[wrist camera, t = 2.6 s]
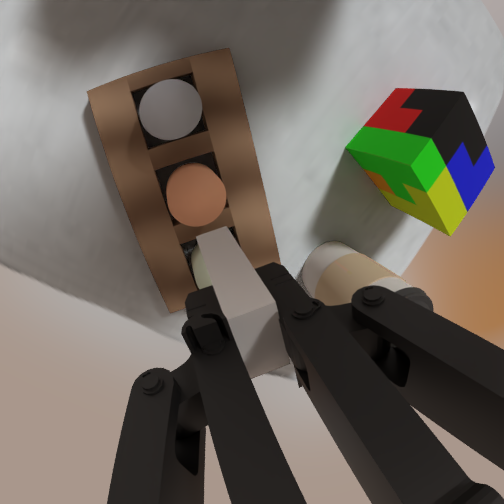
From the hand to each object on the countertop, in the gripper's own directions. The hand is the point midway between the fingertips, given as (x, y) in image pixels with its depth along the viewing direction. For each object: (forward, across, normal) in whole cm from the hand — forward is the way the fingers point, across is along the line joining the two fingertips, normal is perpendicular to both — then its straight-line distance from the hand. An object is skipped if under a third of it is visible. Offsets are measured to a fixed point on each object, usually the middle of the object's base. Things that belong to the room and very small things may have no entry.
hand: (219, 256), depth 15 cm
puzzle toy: (+15, +23, -2) cm, 28 cm away
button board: (+15, 0, 0) cm, 15 cm away
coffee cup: (+15, +12, -14) cm, 24 cm away
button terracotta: (+13, 0, 0) cm, 13 cm away
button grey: (+13, 0, +7) cm, 15 cm away
